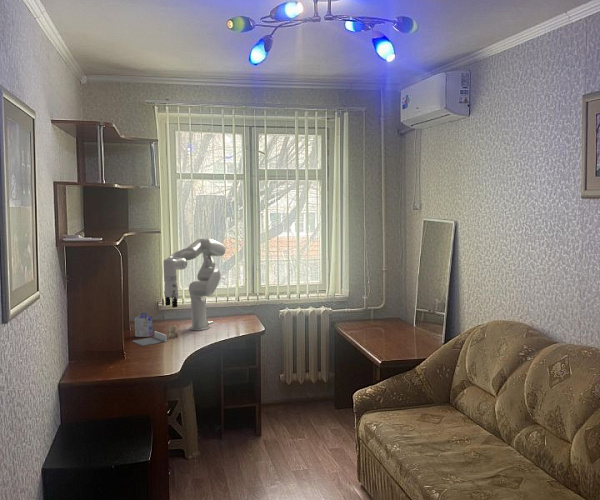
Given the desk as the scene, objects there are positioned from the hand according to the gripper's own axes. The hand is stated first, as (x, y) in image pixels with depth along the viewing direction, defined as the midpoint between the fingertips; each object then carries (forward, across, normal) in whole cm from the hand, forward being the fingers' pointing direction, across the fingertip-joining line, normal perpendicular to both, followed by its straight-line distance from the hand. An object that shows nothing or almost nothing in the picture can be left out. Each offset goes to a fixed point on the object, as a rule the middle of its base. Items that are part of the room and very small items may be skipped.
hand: (171, 306), depth 367 cm
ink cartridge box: (+20, +17, +11) cm, 29 cm away
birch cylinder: (+20, 0, -1) cm, 20 cm away
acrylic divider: (+20, 0, +8) cm, 21 cm away
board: (+20, 0, +16) cm, 26 cm away
